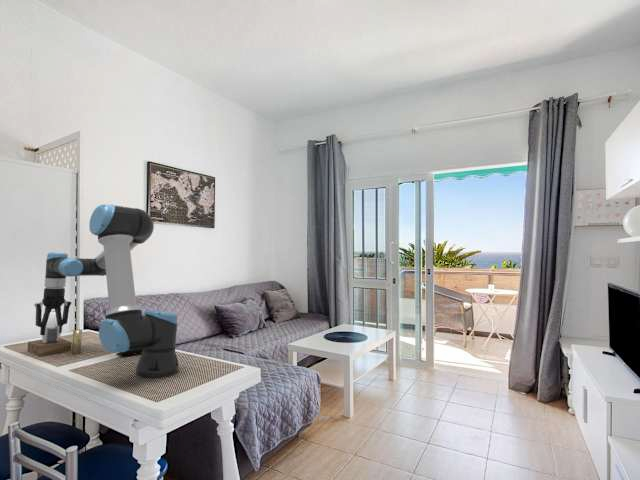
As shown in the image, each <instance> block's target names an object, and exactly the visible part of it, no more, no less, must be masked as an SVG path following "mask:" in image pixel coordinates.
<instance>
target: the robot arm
mask: <svg viewBox="0 0 640 480" xmlns="http://www.w3.org/2000/svg"><path fill="white" fill-rule="evenodd" d="M89 219H90V220H89V225H88V226H89V231H90V233H91V234H92V235H94V236H97V242H98V243H99V244H101V245H102V247H103V250H102V251H101V252H100V253H99V254H98V255H97V256H96V257H95V258H75V257H73V258H72V257H69V255H68V253H67V252H49V253H47V255H46V260H45V261H46V262H45V263H46V264H45V278H44V289H43V299H42V300H41V301H39V302H38V303H37V302H35V303H34V308H35V326H36V327H38V328H40V330H39V331H40V333H39V335H41V340H42V342H43V343H47V332H48V327H46V324H47V321H48V318H49V314H50V312H51V310H52V309H55V312H56V319H57V325H58V326H55V328H57V333H56V342H57V341H58V340H59V338H60V337H59V333H61V331H62V332H63V326H64V325H67V324H68V319H69V312H70V306H71V305H72V302H71V301H69V300H66V299H65V293H66V288H65V287H66V283H67V277H76V276H80V277H81V276H82V277H84V276H85V277H86V276H89V277H90V276H91V277H92V276H95V277H96V276H97V277H98V276H101V277H102V276H105V277H106V285H107V298H108V306H109V310H108V312H106V314H104V316H105V317H104V318H105V319H104V320H102V321H101V322H100V324H99V329H98V337H99V340H100V343H101V345H102V347H103V348H104V349H105V350H106V351H107V352H109V353H113V354H114V353H116V354H117V353H119V352H125V351H129V350H134V349H139V348H143V350H142V353H140V357H139V360H138V362H137V365H136V368H135V375H136V376H138V377H140V378H144V379H145V378H147V379H159V378H160V379H161V378H166V377H167V378H168V377H170V376H173V374H174V375H176V374H178V373H179V371H180V370H179V369H180V363H179V360H178V355H177V353H176V343H177V331H178V330H177V329H178V315H177V313H175V312H171V311H166V310H165V311H164V310H157V309H156V310H152V309H151V310H149V309H148V310H145V312H144V315H143V311H142V309H141V308H140V307H138V306H137V300H136V291H135V280H134V273H133V272H134V271H133V263H132V256H131V255H132V254H131V251H132V250H133V249H134V248H136V247H137V246H138V245H140V244H144V243H146V241H147V240H149V238H150V237H151V236H152V234H153V232H154V229H155V225H154V220H153V219H152V217H151V215H150V214H149V213H148V212H147V211H145V210H143V209H141V208H135V207H127V206H122V205H115V204H105V203H103V204H99V205H97V206H96V207H95V209H94V210H93V212H92V214H91V216H90V218H89ZM43 306H44V313H43V315H42V312H43V311H42V308H43ZM62 306H63V311H62ZM61 334H62V333H61ZM178 370H179V371H178ZM175 373H176V374H175Z"/></svg>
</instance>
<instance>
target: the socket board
mask: <svg viewBox="0 0 640 480" xmlns="http://www.w3.org/2000/svg"><path fill="white" fill-rule="evenodd" d="M72 344H73V341H72V342H71V341H69V340H67V339H64V338H61V337H59V340H58V341H57V342H56V343H50V344H44V343H43V342H42V339H40V340H34V341H33V340H31V341H28V342H27V352H28V351H29V352H28V353H30V352H31V353H30V354H32V353H33V354H32V355H34V354H35V355H34V356H36V355H37V356H36V357H45V356H46V357H47V356H51V355H52V356H53V355H56V354H64V353H70V352H71V353H72Z"/></svg>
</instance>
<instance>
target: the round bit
mask: <svg viewBox="0 0 640 480" xmlns="http://www.w3.org/2000/svg"><path fill="white" fill-rule="evenodd" d="M82 339H83V329H74V330H73V331H72V345H71V355H72V356H73V355H74V356H75V355H80V354H81V351H82Z"/></svg>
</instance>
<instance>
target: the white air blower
mask: <svg viewBox="0 0 640 480" xmlns="http://www.w3.org/2000/svg"><path fill="white" fill-rule="evenodd" d="M55 326H58V325H57V319H56V312H55V309H52V310H51V312H50V314H49V318H48V321H47V324H46V327H48V328H52V327H55ZM62 332H63V330H62V331H61V333H59V338H61V335H62V334H63V333H62Z"/></svg>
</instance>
